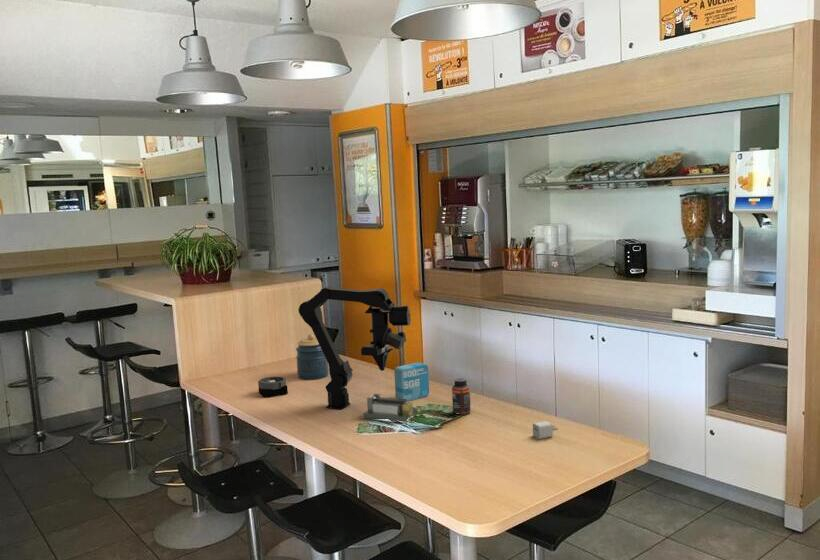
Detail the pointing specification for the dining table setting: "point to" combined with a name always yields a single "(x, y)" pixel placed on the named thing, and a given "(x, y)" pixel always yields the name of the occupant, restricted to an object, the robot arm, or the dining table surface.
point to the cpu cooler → (272, 386)
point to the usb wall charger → (543, 430)
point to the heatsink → (388, 410)
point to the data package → (412, 381)
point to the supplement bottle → (461, 397)
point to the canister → (311, 359)
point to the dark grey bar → (389, 399)
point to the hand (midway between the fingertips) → (382, 370)
